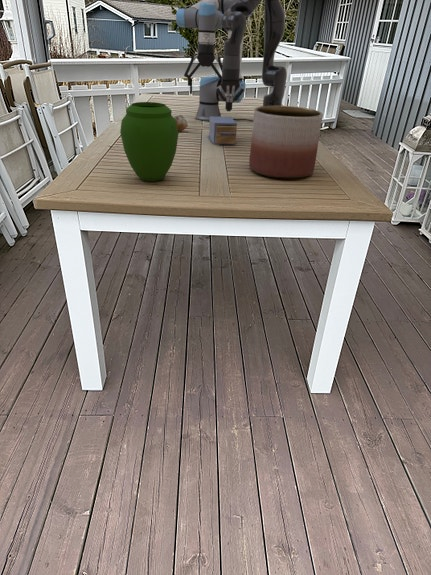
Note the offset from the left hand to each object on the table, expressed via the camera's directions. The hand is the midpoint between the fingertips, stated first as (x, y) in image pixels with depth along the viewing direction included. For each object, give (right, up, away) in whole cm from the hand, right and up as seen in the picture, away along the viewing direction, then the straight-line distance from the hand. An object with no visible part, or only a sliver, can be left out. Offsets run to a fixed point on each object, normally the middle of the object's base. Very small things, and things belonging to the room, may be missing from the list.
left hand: (204, 94), depth 199 cm
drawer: (+9, -24, -2) cm, 25 cm away
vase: (-18, -55, -53) cm, 78 cm away
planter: (+31, -48, -37) cm, 68 cm away
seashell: (-14, -11, +17) cm, 25 cm away
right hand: (+11, -15, -16) cm, 24 cm away
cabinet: (+8, -21, +4) cm, 23 cm away
